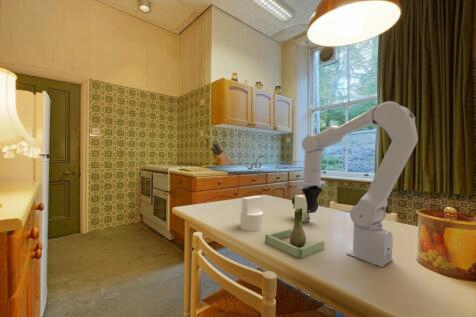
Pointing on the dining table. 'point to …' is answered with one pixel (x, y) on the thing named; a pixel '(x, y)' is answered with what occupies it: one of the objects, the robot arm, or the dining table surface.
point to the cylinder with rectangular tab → (252, 213)
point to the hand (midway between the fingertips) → (311, 207)
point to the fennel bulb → (298, 230)
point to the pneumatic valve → (303, 206)
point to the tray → (293, 250)
